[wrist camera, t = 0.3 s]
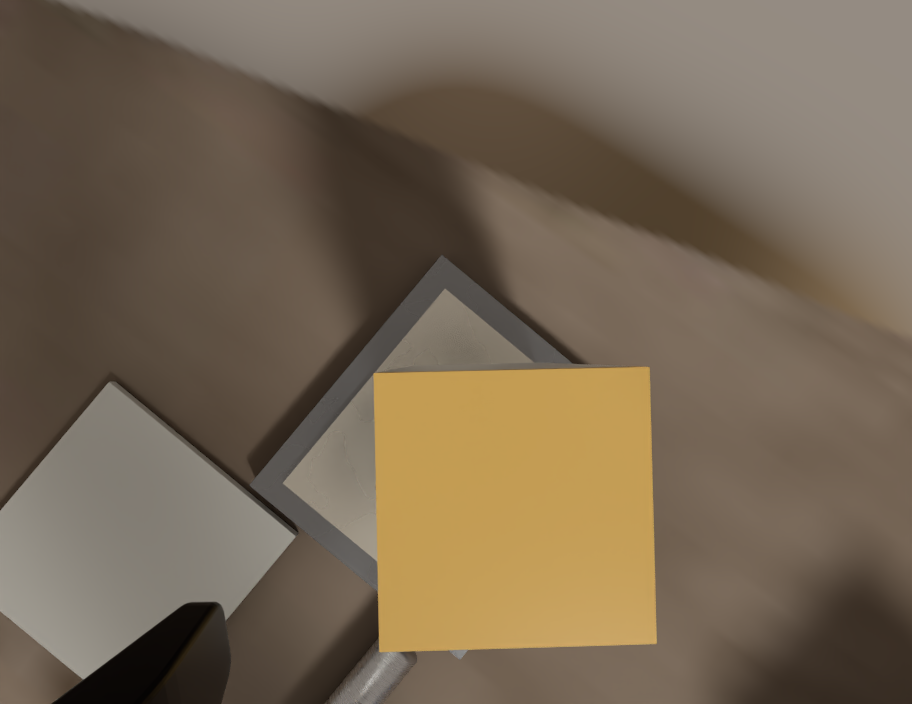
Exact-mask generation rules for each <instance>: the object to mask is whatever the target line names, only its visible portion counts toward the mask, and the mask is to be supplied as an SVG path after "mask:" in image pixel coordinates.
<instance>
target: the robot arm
mask: <svg viewBox="0 0 912 704" xmlns="http://www.w3.org/2000/svg"><path fill="white" fill-rule="evenodd" d="M230 664H231V654H230V647H229V640H228V634H227V627H226V620H225V614H224V610H223V607H222V605H221V604H220V603H218V602H189V603H186V604H184V605H182V606H180V607H179V608H178V609H176V610H175V611H174V612H172V613H171V614H170V615H168V616H167V617H166V618H164V619H163V620H162V621H160V622H159V623H158V624H156V625H155V626H154V627H153V628H151V629H150V630H149V631H147V632H146V633H145V634H143V635H142V636H141V637H139V638H138V639H137V640H135V641H134V642H133V643H131V644H130V645H129V646H127V647H126V648H125V649H123V650H122V651H121V652H119V653H118V654H117V655H115V656H114V657H113V658H111V659H110V660H109V661H107V662H106V663H105V664H103V665H102V666H101V667H99V668H98V669H97V670H95V671H94V672H93V673H91V674H90V675H89V676H87V677H86V678H85V679H83V680H82V681H81V682H79V683H78V684H77V685H75V686H74V687H73V688H71V689H70V690H69V691H68V692H66V693H65V694H64V695H62V696H61V697H60V698H58V699H57V700H56V701H54V702H53V703H52V704H221V702H222V699H223V695H224V691H225V688H226V684H227V680H228V677H229V672H230Z"/></svg>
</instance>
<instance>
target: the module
mask: <svg viewBox="0 0 912 704" xmlns="http://www.w3.org/2000/svg"><path fill="white" fill-rule="evenodd" d="M374 421H375V469H376V517H377V566H378V614H379V652H405V651H438V650H471V649H504V648H538V647H571V646H604V645H637V644H657V637H656V598H655V559H654V521H653V482H652V443H651V405H650V367H637V366H612V365H588V364H563V363H538V362H536V363H492V364H447V365H413V366H408V367H403V368H398V369H392V370H387V371H382V372H377V373H374Z"/></svg>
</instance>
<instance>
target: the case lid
mask: <svg viewBox="0 0 912 704" xmlns="http://www.w3.org/2000/svg"><path fill="white" fill-rule="evenodd" d="M297 535H298V532H296V531H295V530H294V529H293V528H292V527H290V526H289V525H288V524H287V523H286V522H284V521H283V520H282V519H281V518H280V517H278V516H277V515H276V514H275V513H274V512H272V511H271V510H270V509H269V508H268V507H266V506H265V505H264V504H263V503H261V502H260V501H259V500H258V499H257V498H255V497H254V496H253V495H252V494H251V493H249V492H248V491H247V490H246V489H245V488H243V487H242V486H241V485H240V484H239V483H237V482H236V481H235V480H234V479H232V478H231V477H230V476H229V475H228V474H226V473H225V472H224V471H223V470H222V469H220V468H219V467H218V466H217V465H216V464H214V463H213V462H212V461H211V460H210V459H208V458H207V457H206V456H205V455H203V454H202V453H201V452H200V451H199V450H197V449H196V448H195V447H194V446H193V445H191V444H190V443H189V442H188V441H187V440H185V439H184V438H183V437H182V436H181V435H179V434H178V433H177V432H176V431H174V430H173V429H172V428H171V427H170V426H168V425H167V424H166V423H165V422H164V421H162V420H161V419H160V418H159V417H158V416H156V415H155V414H154V413H153V412H152V411H150V410H149V409H148V408H147V407H146V406H144V405H143V404H142V403H141V402H139V401H138V400H137V399H136V398H135V397H133V396H132V395H131V394H130V393H129V392H127V391H126V390H125V389H124V388H123V387H121V386H120V385H119V384H118V383H117V382H115V381H113V382H109V383H108V384H107V385H106V386H105V387H104V388H103V390H102V391H101V392H100V393H99V394H98V396H97V397H96V398H95V399H94V400H93V401H92V403H91V404H90V405H89V406H88V407H87V409H86V410H85V411H84V412H83V413H82V414H81V416H80V417H79V418H78V419H77V420H76V422H75V423H74V424H73V425H72V426H71V428H70V429H69V430H68V431H67V432H66V433H65V435H64V436H63V437H62V438H61V439H60V441H59V442H58V443H57V444H56V445H55V446H54V448H53V449H52V450H51V451H50V452H49V454H48V455H47V456H46V457H45V458H44V459H43V461H42V462H41V463H40V464H39V465H38V467H37V468H36V469H35V470H34V471H33V473H32V474H31V475H30V476H29V477H28V478H27V480H26V481H25V482H24V483H23V484H22V486H21V487H20V488H19V489H18V490H17V491H16V493H15V494H14V495H13V496H12V497H11V499H10V500H9V501H8V502H7V503H6V504H5V506H4V507H3V508H2V509H1V510H0V611H1V612H2V613H3V614H4V615H6V616H7V617H8V618H9V619H10V620H12V621H13V622H14V623H15V624H16V625H18V626H19V627H20V628H21V629H23V630H24V631H25V632H26V633H27V634H29V635H30V636H31V637H32V638H33V639H35V640H36V641H37V642H38V643H39V644H41V645H42V646H43V647H44V648H46V649H47V650H48V651H49V652H50V653H52V654H53V655H54V656H55V657H56V658H58V659H59V660H60V661H61V662H63V663H64V664H65V665H66V666H67V667H69V668H70V669H71V670H72V671H73V672H75V673H76V674H77V675H78V676H80V677H81V678H82V679H85V678H86V677H87V676H89V675H90V674H91V673H93V672H94V671H95V670H97V669H98V668H99V667H101V666H102V665H103V664H105V663H106V662H107V661H109V660H110V659H111V658H113V657H114V656H115V655H117V654H118V653H119V652H121V651H122V650H123V649H125V648H126V647H127V646H129V645H130V644H131V643H133V642H134V641H135V640H137V639H138V638H139V637H141V636H142V635H143V634H145V633H146V632H147V631H149V630H150V629H151V628H153V627H154V626H155V625H156V624H158V623H159V622H160V621H162V620H163V619H164V618H166V617H167V616H168V615H170V614H171V613H172V612H174V611H175V610H176V609H178V608H179V607H180V606H182V605H184V604H186V603H189V602H218V603H220V604H221V605H222V607H223V610H224V614H225V620H227V619H228V618H229V616H230V615H231V614H232V613H233V612H234V610H235V609H236V608H237V607H238V606H239V604H240V603H241V602H242V601H243V600H244V598H245V597H246V596H247V595H248V594H249V592H250V591H251V590H252V589H253V588H254V586H255V585H256V584H257V583H258V581H259V580H260V579H261V578H262V577H263V575H264V574H265V573H266V572H267V571H268V569H269V568H270V567H271V566H272V565H273V563H274V562H275V561H276V560H277V559H278V557H279V556H280V555H281V554H282V553H283V551H284V550H285V549H286V548H287V547H288V545H289V544H290V543H291V542H292V541H293V539H294V538H295V537H296V536H297Z"/></svg>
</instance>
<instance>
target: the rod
mask: <svg viewBox="0 0 912 704" xmlns="http://www.w3.org/2000/svg"><path fill="white" fill-rule="evenodd" d="M416 662H417V656H416V653H415V651H405V652H379V638H378V639H377V640H376V641H375V642H374V644H373V645H372V646H371V647H370V649H369V650H368V651H367V652H366V653H365V655H364V656H363V657H362V658H361V659H360V661H359V662H358V663H357V664H356V665H355V667H354V668H353V669H352V670H351V672H350V673H349V674H348V675H347V676H346V678H345V679H344V680H343V681H342V682H341V684H340V685H339V686H338V687H337V689H336V690H335V691H334V692H333V693H332V695H331V696H330V697H329V698H328V699H327V701H326V702H325V703H324V704H383V702H384V701H385V700H386V699H387V698H388V696H389V695H390V694H391V693H392V692H393V690H394V689H395V688H396V687H397V685H398V684H399V683H400V682H401V681H402V679H403V678H404V677H405V676H406V674H407V673H408V672H409V671H410V670H411V668H412V667H413V666H414V665H415V664H416Z"/></svg>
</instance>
